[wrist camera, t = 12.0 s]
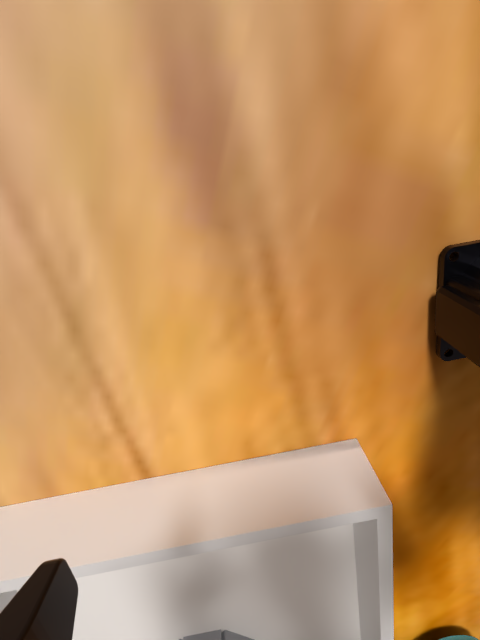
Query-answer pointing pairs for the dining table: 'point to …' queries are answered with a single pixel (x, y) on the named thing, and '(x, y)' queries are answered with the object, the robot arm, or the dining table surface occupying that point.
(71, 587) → the robot arm
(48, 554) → the walled box
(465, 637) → the beverage bottle
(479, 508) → the dining table surface
